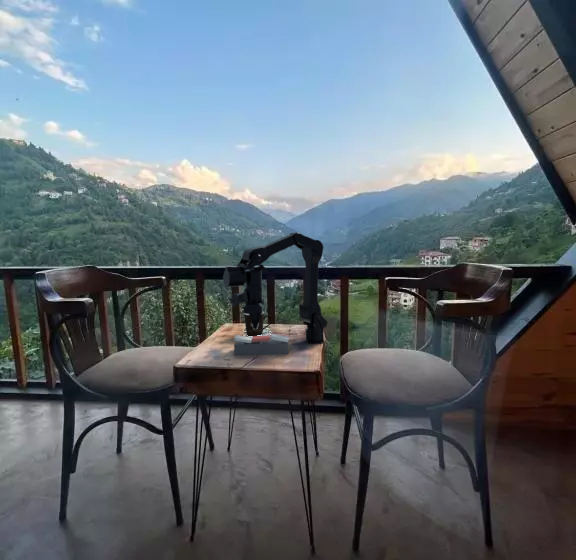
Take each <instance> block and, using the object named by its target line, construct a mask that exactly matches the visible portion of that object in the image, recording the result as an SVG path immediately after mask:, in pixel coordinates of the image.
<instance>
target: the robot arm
mask: <svg viewBox="0 0 576 560" xmlns="http://www.w3.org/2000/svg"><path fill="white" fill-rule="evenodd" d="M292 246H293V247H294V246H295V248H298V250H301V256H302V258H303V261H304V263H305V271H304V274H305V278H304V281H305V282H304V301H303V302H302V304H301V303H300V304H299V307H298V309H299V312H298V315H299V318H300V319H301V320H302V321H303V324H304V325H306V328H305V341H306V342H307V343H308V344H324V343H325V340H324V337H325V336H324V328H326V327H327V325H328V320H326V319H325V318H324V317H323V316H322V315H323V314H322V308H321V306H320V303H319V301H318V300H319V299H318V294H319V293H318V290H319V289H318V288H319V262H321V259H322V257H323V252H324V244H323V243H322V241H321V240H319V239H314V238H311V237H309V236H306V235H304V234H302V233H300V232H291V233H289V234H287V235H285V236H282V237H280V238H278V239H275V240H274V241H271V242H269V243H267V244H264V245H260V246H254V247H249V248H246V249H245V250H244V251H243V252H242V257H241V258H240V260H239V262H238V263H237V265H236V266H225V269H224V272H223V275H222V282H223V284H224V285H223V286H224V287H225V288H231V287H241V286H245V288H244V290H243V291H242V292H240V293H234V294H232V295H231V296H229V298H228V299H229V303H230V304H231V306H232V307H236V306H237V305H240V304H242V303H244V304H245V305H243V306H242V307H243V308H242V312H243V315H244V314H249V315H250V317H251V321H252V325H253V328H254V329H256V328H257V326H258V323H259V320H260V317H261V314H262V312H264V306H263V305H265V298H264V297H263V278H262V277H263V272H268V268H266V267H265V266H264V263H265V262H266V261H267V260H269V258H270V257H271V256H274V255H275V254H277V253H280V252H282V251H284V250H287V249H289V248H290V247H292ZM244 284H245V285H244Z"/></svg>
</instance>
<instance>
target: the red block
mask: <svg viewBox="0 0 576 560" xmlns="http://www.w3.org/2000/svg"><path fill="white" fill-rule="evenodd" d="M270 337H271V336H270V334H267V335H262V336H253V339H252V340H253V342H258V341H270Z"/></svg>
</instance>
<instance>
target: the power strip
mask: <svg viewBox="0 0 576 560" xmlns="http://www.w3.org/2000/svg"><path fill="white" fill-rule="evenodd" d="M252 339H253V338H252ZM234 341H235V340H234ZM233 346H234V347H233V353H234V357H235V356H236V357H237V356H272V355H273V356H274V355H276V356H277V355H278V356H279V355H289V341H288V342H284V341H278V340H272V339H271V336H270V341H258V342H253V340H252V341H251V343H247V342H241V341H235V342H234V344H233Z"/></svg>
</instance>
